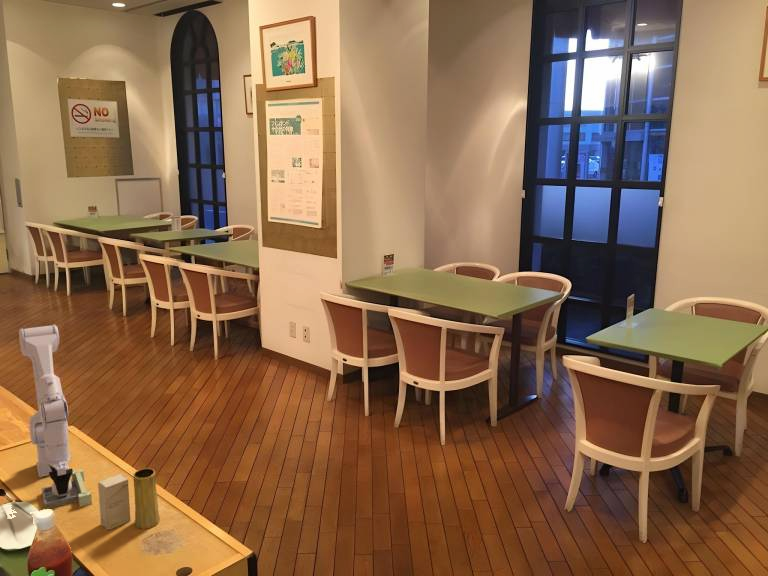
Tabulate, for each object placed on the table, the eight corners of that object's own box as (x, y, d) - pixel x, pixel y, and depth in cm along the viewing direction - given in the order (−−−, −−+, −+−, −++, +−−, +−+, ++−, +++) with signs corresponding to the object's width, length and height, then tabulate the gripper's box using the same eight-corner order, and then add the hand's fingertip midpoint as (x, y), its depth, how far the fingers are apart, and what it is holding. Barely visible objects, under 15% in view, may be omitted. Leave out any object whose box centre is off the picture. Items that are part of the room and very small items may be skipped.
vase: (151, 530, 163) (148, 480, 160) (130, 527, 164) (126, 477, 161) (164, 517, 169) (161, 468, 166) (143, 514, 170) (140, 465, 167)
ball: (51, 493, 178) (49, 477, 176) (71, 489, 180) (69, 472, 179) (53, 502, 173) (51, 485, 172) (73, 496, 176) (72, 480, 175)
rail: (72, 480, 185) (71, 471, 184) (83, 478, 187) (82, 468, 186) (79, 506, 172) (79, 497, 172) (91, 503, 174) (91, 494, 173)
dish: (42, 493, 178) (41, 488, 178) (77, 485, 183) (77, 480, 183) (45, 509, 171) (45, 503, 170) (82, 500, 176) (81, 494, 175)
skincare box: (108, 531, 162) (104, 488, 160) (100, 523, 165) (96, 481, 162) (131, 520, 167) (128, 479, 164) (123, 513, 170) (120, 472, 167)
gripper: (37, 434, 177) (42, 478, 180) (42, 456, 165) (47, 503, 168) (65, 429, 181) (69, 472, 184) (72, 450, 169) (76, 496, 172)
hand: (61, 487), depth 176 cm, fingers open, 7 cm apart
